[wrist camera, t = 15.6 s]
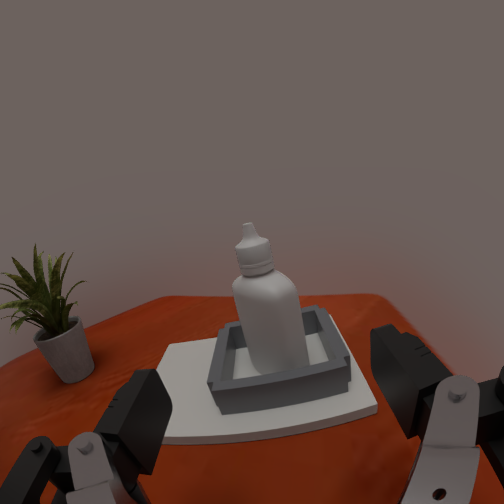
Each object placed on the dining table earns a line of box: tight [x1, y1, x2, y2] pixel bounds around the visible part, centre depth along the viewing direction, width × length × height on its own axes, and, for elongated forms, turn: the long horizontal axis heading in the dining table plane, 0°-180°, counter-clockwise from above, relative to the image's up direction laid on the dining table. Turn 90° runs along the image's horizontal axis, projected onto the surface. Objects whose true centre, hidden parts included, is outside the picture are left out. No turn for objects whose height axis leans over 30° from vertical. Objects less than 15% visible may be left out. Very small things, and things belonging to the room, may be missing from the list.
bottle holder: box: [156, 305, 378, 445], centre depth 22 cm, size 18×14×4 cm
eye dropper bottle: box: [232, 222, 310, 375], centre depth 20 cm, size 4×6×12 cm
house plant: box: [0, 244, 95, 383], centre depth 26 cm, size 14×14×16 cm
